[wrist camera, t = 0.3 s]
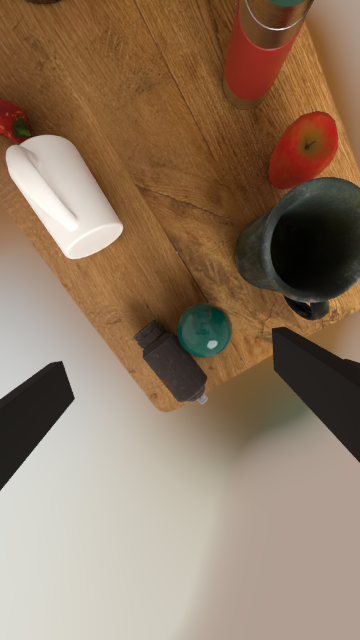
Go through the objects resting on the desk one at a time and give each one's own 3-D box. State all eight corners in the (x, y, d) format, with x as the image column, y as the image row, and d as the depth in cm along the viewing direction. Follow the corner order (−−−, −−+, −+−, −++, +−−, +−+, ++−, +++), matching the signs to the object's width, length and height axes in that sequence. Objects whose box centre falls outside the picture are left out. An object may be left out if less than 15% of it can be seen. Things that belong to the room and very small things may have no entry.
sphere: (177, 298, 32) (176, 307, 24) (227, 298, 32) (242, 308, 24) (176, 345, 34) (175, 368, 26) (224, 346, 34) (237, 368, 26)
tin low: (219, 52, 25) (240, -66, 16) (271, 42, 25) (321, -84, 16) (224, 114, 26) (245, 37, 18) (273, 105, 26) (319, 23, 17)
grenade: (129, 338, 27) (197, 423, 28) (163, 313, 29) (225, 392, 30) (127, 342, 34) (181, 408, 35) (154, 321, 36) (204, 385, 37)
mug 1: (85, 260, 31) (27, 255, 19) (41, 195, 29) (-54, 145, 17) (130, 231, 30) (98, 206, 18) (88, 161, 28) (21, 83, 16)
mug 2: (291, 199, 29) (367, 152, 17) (316, 293, 32) (394, 307, 20) (220, 232, 30) (245, 208, 18) (251, 320, 33) (290, 347, 21)
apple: (268, 140, 27) (300, 92, 20) (311, 154, 27) (358, 112, 20) (252, 191, 28) (277, 164, 21) (293, 203, 29) (330, 181, 22)
